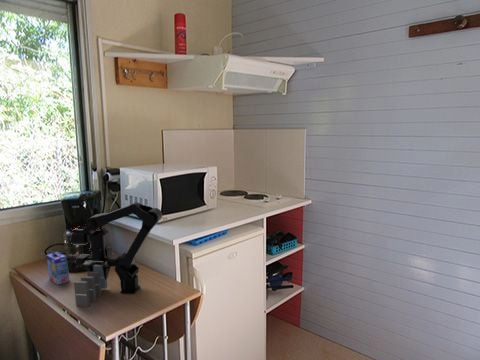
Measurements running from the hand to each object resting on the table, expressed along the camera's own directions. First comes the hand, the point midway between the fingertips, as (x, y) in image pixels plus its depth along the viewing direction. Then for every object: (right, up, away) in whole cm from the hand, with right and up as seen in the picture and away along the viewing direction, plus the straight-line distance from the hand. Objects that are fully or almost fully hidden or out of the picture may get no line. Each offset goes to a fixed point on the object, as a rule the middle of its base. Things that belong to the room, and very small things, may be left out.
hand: (100, 278), depth 151 cm
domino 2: (-1, -6, -8) cm, 10 cm away
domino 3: (0, -4, +1) cm, 4 cm away
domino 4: (-1, -6, -4) cm, 7 cm away
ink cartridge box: (-24, -4, +11) cm, 26 cm away
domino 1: (-2, -7, -12) cm, 14 cm away
